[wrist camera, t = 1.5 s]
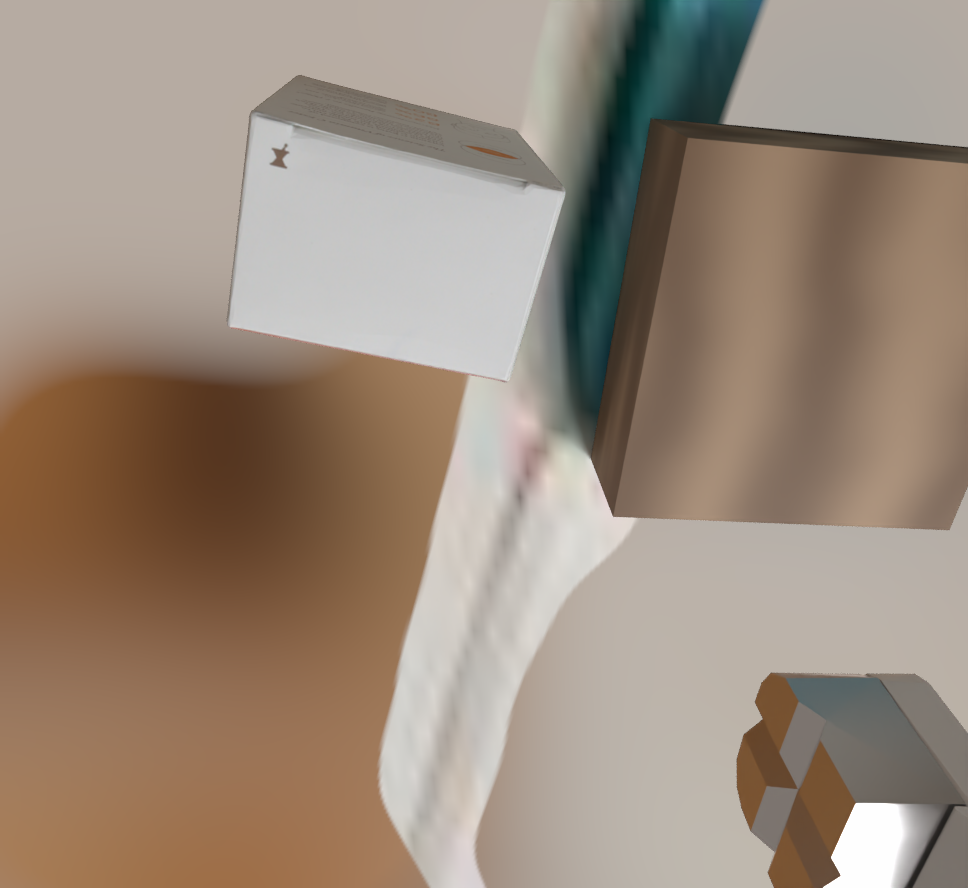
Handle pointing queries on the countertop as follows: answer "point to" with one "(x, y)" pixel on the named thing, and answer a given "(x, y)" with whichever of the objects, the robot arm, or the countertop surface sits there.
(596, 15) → the countertop surface
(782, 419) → the walnut block
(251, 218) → the small box
